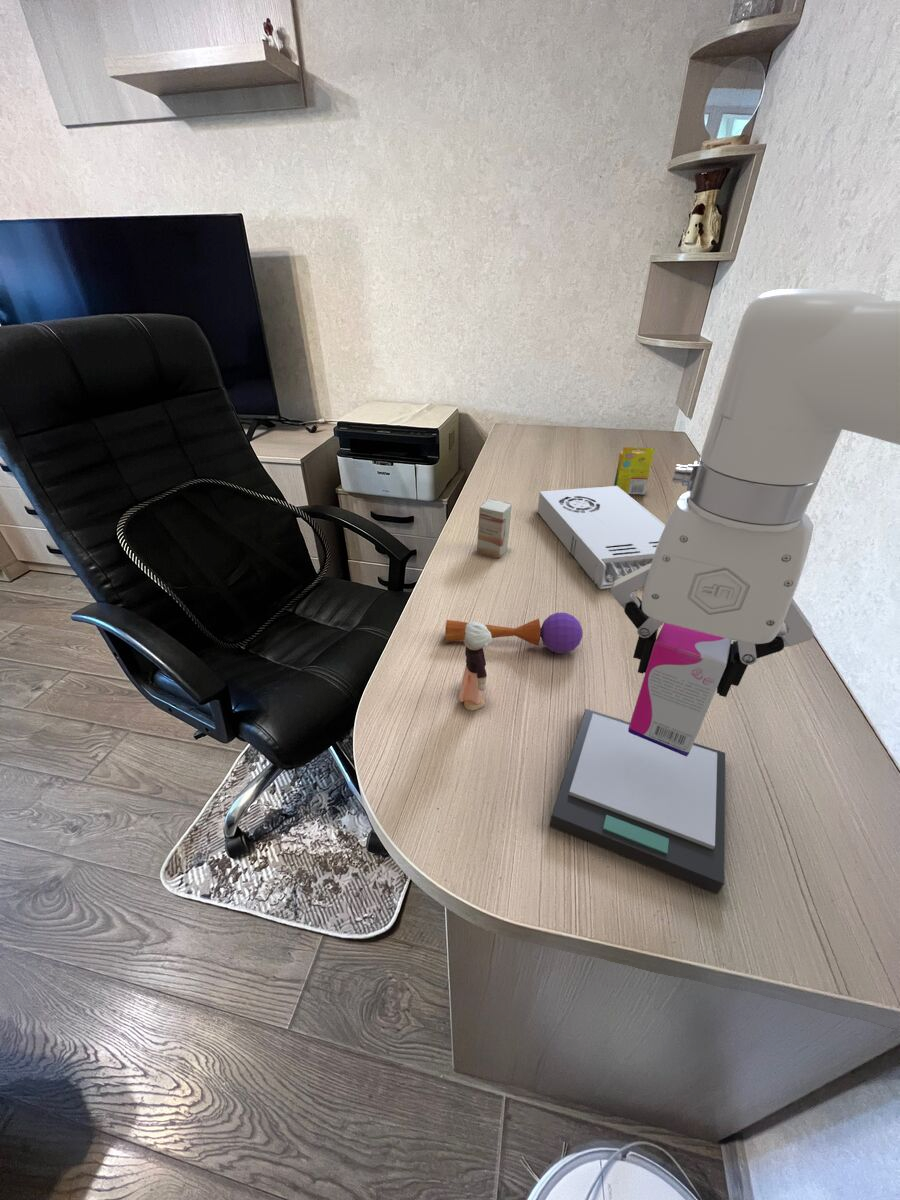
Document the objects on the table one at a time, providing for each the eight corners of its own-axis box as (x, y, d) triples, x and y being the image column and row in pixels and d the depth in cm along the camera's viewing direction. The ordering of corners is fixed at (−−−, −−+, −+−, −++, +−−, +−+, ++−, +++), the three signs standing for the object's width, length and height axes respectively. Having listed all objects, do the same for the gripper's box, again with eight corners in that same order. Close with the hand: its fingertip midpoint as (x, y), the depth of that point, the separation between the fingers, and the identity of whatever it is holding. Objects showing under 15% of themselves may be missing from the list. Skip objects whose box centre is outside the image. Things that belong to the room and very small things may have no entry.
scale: (720, 763, 58) (727, 749, 57) (717, 894, 46) (726, 880, 45) (583, 719, 64) (586, 704, 62) (549, 826, 52) (552, 811, 50)
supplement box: (699, 718, 51) (737, 629, 44) (687, 758, 47) (727, 667, 40) (641, 695, 53) (669, 608, 47) (625, 732, 49) (654, 642, 43)
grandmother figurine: (449, 685, 69) (449, 610, 61) (474, 678, 70) (478, 604, 63) (470, 725, 63) (473, 648, 56) (498, 717, 64) (504, 640, 57)
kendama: (448, 604, 77) (581, 606, 75) (450, 639, 80) (578, 641, 77) (443, 621, 72) (585, 623, 69) (445, 657, 74) (583, 661, 72)
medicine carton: (475, 553, 99) (477, 506, 93) (485, 544, 102) (487, 497, 96) (500, 559, 97) (503, 511, 91) (508, 550, 100) (512, 503, 94)
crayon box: (642, 490, 126) (653, 444, 119) (644, 495, 123) (656, 448, 117) (612, 489, 126) (621, 443, 120) (614, 493, 124) (623, 447, 117)
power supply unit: (599, 589, 88) (604, 565, 86) (537, 512, 115) (539, 491, 112) (695, 579, 91) (703, 555, 89) (613, 505, 118) (617, 485, 115)
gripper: (617, 489, 36) (579, 673, 46) (909, 537, 30) (791, 735, 40) (632, 457, 42) (595, 627, 52) (881, 493, 36) (784, 677, 46)
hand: (681, 673), depth 46 cm, fingers closed on supplement box, 6 cm apart
